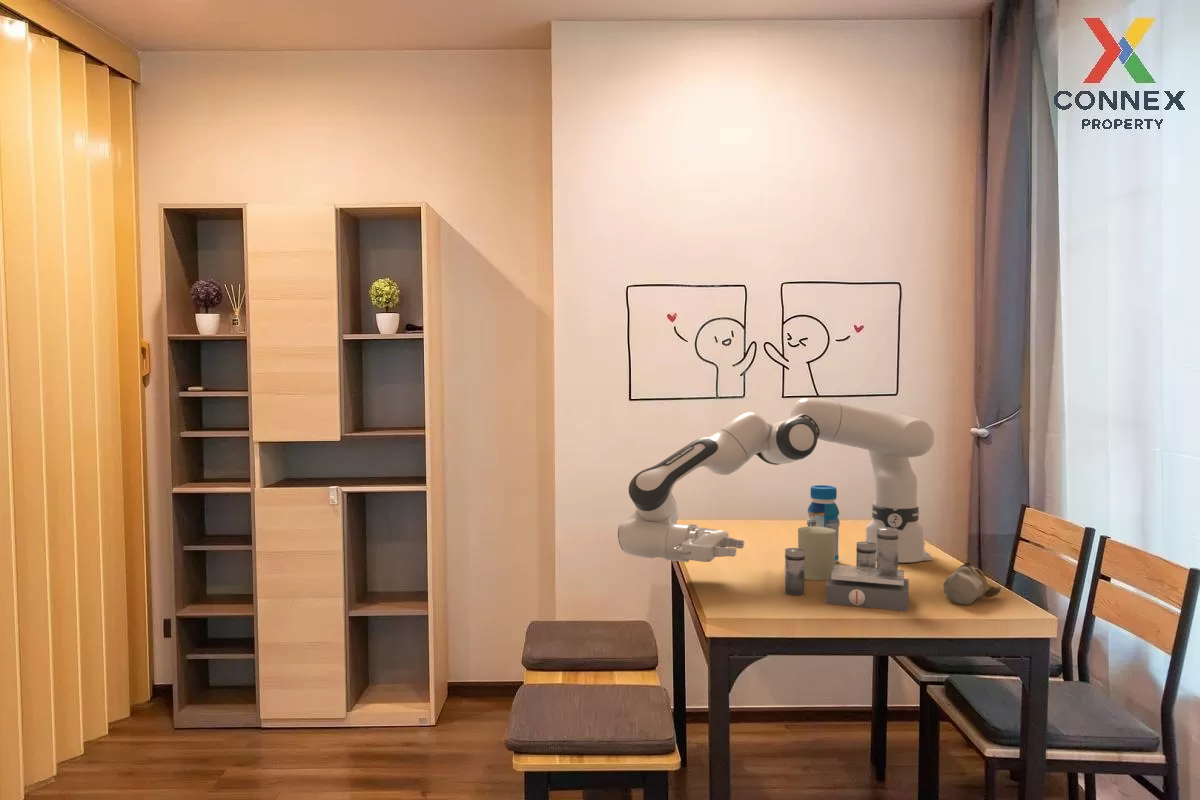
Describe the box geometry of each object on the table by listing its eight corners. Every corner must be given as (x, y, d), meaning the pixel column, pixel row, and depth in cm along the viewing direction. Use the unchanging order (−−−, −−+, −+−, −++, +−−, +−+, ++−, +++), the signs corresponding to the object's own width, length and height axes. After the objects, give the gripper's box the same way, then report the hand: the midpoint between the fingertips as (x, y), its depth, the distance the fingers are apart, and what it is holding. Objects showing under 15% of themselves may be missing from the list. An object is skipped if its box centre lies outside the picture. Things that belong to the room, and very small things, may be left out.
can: (789, 573, 207) (790, 525, 207) (820, 570, 211) (821, 523, 210) (811, 582, 199) (812, 532, 198) (843, 578, 202) (843, 530, 202)
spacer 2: (856, 582, 199) (857, 540, 198) (876, 583, 197) (876, 542, 197) (855, 586, 195) (855, 544, 194) (875, 588, 193) (876, 546, 193)
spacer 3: (876, 570, 185) (877, 526, 184) (898, 572, 183) (898, 527, 183) (875, 575, 180) (876, 530, 180) (897, 577, 179) (898, 531, 178)
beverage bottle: (840, 565, 216) (841, 489, 215) (807, 563, 217) (808, 488, 217) (837, 558, 224) (838, 484, 223) (805, 556, 226) (806, 484, 225)
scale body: (830, 589, 192) (830, 572, 192) (908, 596, 186) (908, 579, 186) (825, 603, 180) (825, 585, 180) (908, 611, 174) (908, 593, 174)
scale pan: (834, 568, 190) (835, 564, 190) (903, 574, 185) (904, 570, 185) (831, 579, 181) (831, 574, 181) (903, 585, 176) (903, 580, 176)
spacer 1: (786, 589, 192) (786, 547, 191) (805, 591, 190) (806, 548, 190) (783, 594, 188) (783, 551, 187) (803, 596, 186) (803, 552, 186)
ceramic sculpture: (932, 562, 182) (957, 555, 193) (930, 601, 182) (955, 592, 193) (982, 570, 175) (1005, 563, 185) (980, 611, 175) (1003, 601, 185)
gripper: (671, 537, 188) (731, 543, 183) (693, 522, 207) (748, 527, 202) (670, 565, 188) (730, 571, 183) (692, 547, 207) (747, 553, 202)
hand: (739, 548), depth 193 cm, fingers open, 8 cm apart
